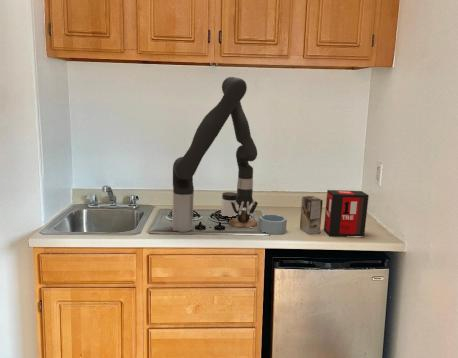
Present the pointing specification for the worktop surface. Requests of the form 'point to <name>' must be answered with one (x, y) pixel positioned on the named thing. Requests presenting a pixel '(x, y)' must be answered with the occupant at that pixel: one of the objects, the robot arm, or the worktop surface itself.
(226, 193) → the jar
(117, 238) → the worktop surface
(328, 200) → the cleaning product box
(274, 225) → the bowl
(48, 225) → the worktop surface
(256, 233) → the worktop surface
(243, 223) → the lid
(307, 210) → the coffee box
